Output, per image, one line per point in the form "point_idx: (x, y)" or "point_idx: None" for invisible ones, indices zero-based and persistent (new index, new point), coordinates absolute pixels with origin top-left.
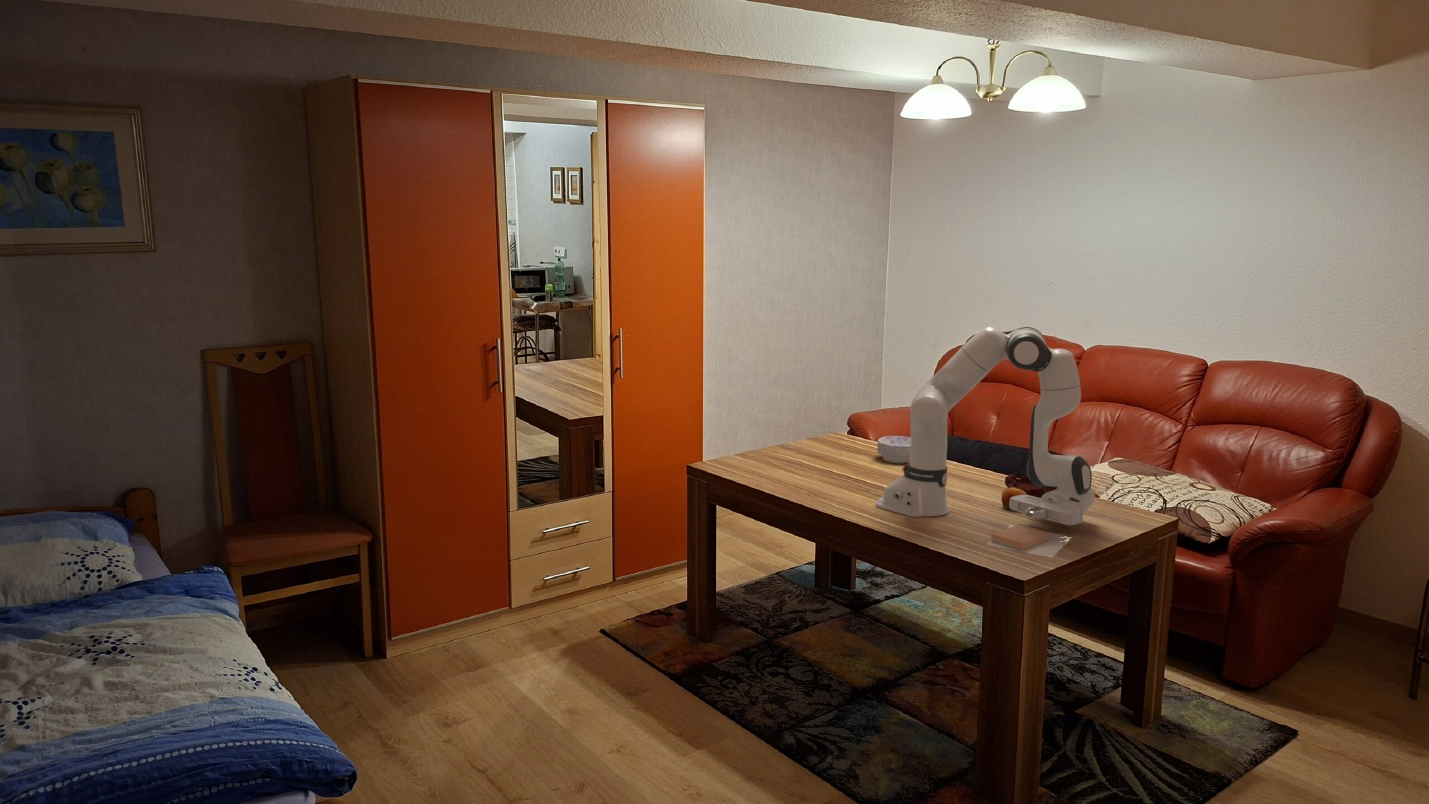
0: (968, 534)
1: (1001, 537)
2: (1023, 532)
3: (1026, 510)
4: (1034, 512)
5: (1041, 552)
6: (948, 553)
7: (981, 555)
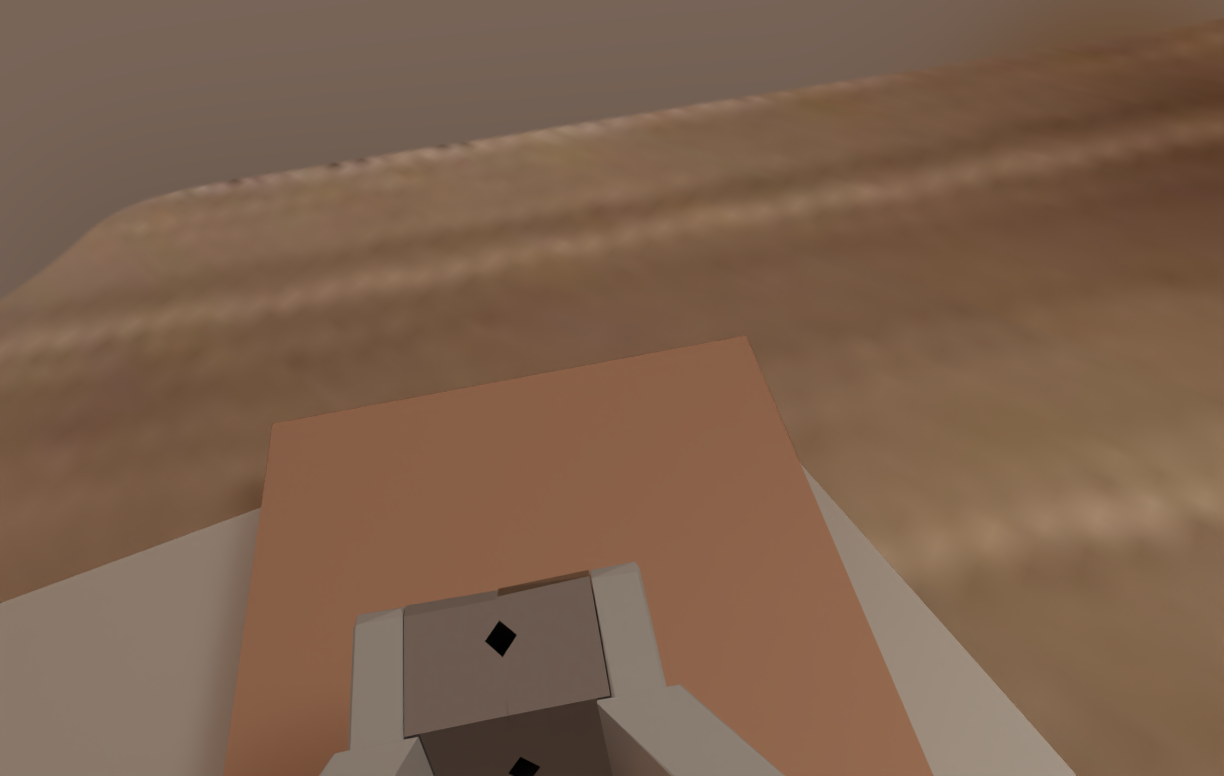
0: (1128, 394)
1: (593, 373)
2: None
3: (614, 574)
4: (366, 631)
5: (94, 661)
6: (693, 112)
7: (519, 231)
